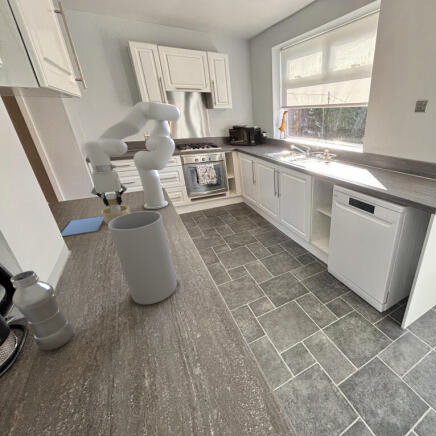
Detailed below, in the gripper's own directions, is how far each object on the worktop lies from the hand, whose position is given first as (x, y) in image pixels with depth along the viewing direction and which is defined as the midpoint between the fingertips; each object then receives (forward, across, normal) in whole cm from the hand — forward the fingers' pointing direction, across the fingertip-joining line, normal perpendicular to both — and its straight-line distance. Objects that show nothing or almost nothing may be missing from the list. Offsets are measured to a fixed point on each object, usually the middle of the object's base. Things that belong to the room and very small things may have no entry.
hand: (113, 204), depth 119 cm
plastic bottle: (+9, +3, +77) cm, 78 cm away
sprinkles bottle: (+8, 0, 0) cm, 8 cm away
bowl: (+9, 0, 0) cm, 9 cm away
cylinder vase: (+9, -18, +67) cm, 70 cm away
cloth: (+9, +14, +1) cm, 17 cm away
